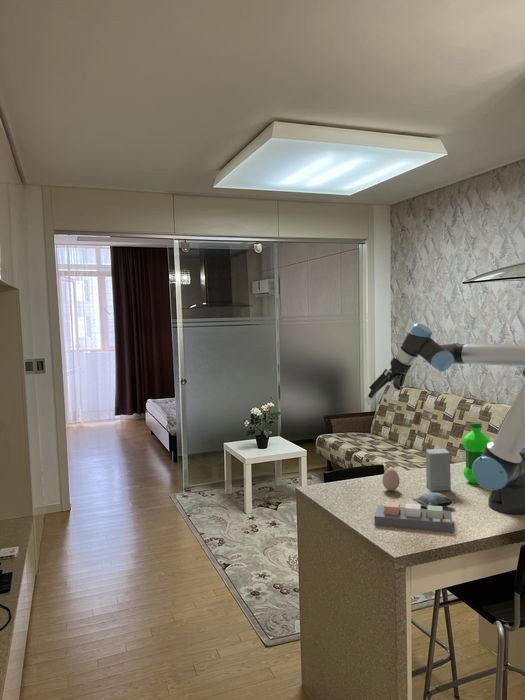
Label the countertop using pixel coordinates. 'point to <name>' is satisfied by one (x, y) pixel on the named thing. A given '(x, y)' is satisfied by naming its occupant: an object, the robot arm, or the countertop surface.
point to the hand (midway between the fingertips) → (377, 401)
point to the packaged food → (433, 500)
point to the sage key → (434, 512)
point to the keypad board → (414, 520)
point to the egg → (390, 479)
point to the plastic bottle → (473, 448)
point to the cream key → (413, 510)
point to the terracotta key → (392, 508)
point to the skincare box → (438, 470)
